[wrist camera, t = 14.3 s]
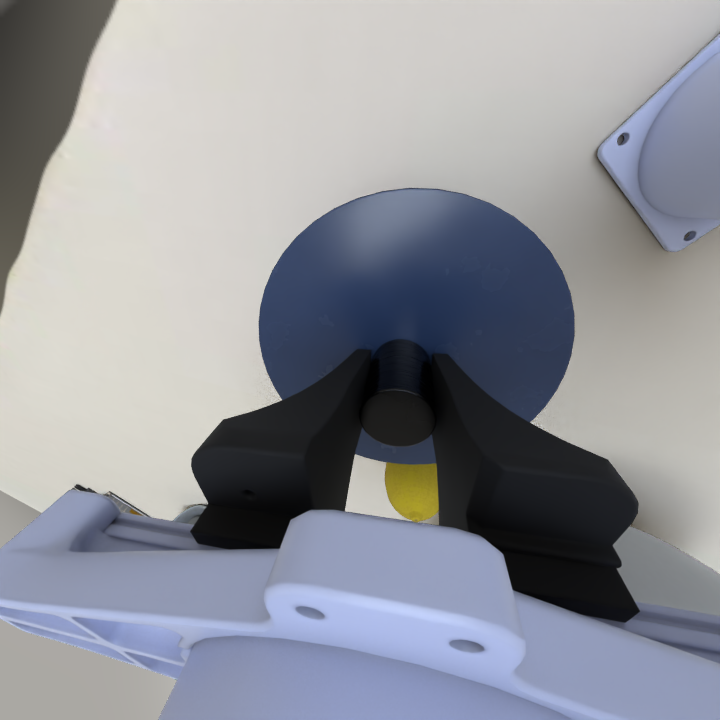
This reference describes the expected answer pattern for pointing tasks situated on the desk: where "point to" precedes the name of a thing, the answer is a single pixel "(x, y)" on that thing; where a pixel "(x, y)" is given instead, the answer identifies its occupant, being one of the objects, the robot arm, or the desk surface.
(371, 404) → the pot lid
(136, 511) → the blue flat gadget
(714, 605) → the decorative bowl
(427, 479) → the lemon
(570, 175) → the desk surface
